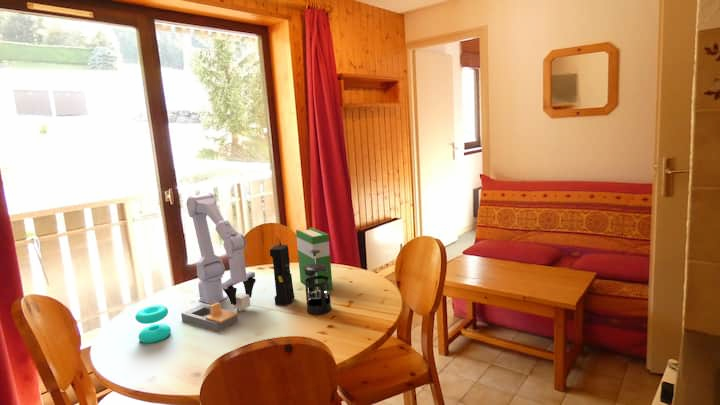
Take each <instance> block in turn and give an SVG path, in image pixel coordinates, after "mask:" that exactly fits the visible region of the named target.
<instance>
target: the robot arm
mask: <svg viewBox="0 0 720 405" xmlns="http://www.w3.org/2000/svg"><path fill="white" fill-rule="evenodd" d="M186 208H187V212H188V215H189V217H190V218H192V221H193V225H194V230H195V234H196V235H195V236H196V240H197V244H198V246H199V248H198V249H199V251H200V255H201V256H200V258H199V259H198V261H197V262H196V263H195V264H196V275H197V278H198V280H199V282H198V293H199V298H198V301H199V302H202V303H206V304H210V305H212V304H215V303H217V302H219V303H220V302H221V301H223V300H225V299H228V300H229V303H230V304H231V305H232V306H233V305H236V295H237V290H238V288H236V287H235V286H236V285H238V284H239V283H242V284H243V288H244V292H245V293H244V294H247V295H249V297H250V298H252V295H253V289H254V288H253V287H254V286H255V284H256V278H255V277H256V273H255V271H250V272H247V271H246V268H247V267H246V261H245V252H244V249H245V248H246V246H247V242H246V241H247V240H246V238H245V236H244V235H243V234H242V233H240V232H239V231H237V230H235V228H234V226H233V225H232V224H231V222H230V221H229V220H225V219H224V217H223V215H222V214H221V212H220V211H219V209H218V207H217V199H216V196H215V195H214V194H213V193H212V192H210V193H209V192H208V193H204V194H198V195H194V196H193V195H191V196H188V197H187V200H186ZM207 216H208V218H209V219H210V220H211V221H212V222H213V223H214V224H215V231H216V232H217V234H218V236H219V237H220V238H221V240H222V241H223V248H224V250H225V254H226V256H227V257H228V267H229V274H230V278H229V279H227V280H226V281H225V282H222V278H223V275H224V274H225V271H226V267H225V265H224V263H223V260H222V258H221V257H220V256H218V255H216V254H215V252H214V251H215V250H214V246H213V243H212V237H211V233H210V230H209V225H208V221H207V220H208V219H207ZM234 285H235V286H234ZM224 293H225V294H226V295H224Z"/></svg>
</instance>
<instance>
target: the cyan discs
mask: <svg viewBox="0 0 720 405" xmlns="http://www.w3.org/2000/svg"><path fill="white" fill-rule="evenodd" d="M168 314H169V310H168V308H167V307H166V306H164V305H161V304H160V305H159V304H157V305H150V306H146V307H144V308H142V309H140V310H138V311H137V313H136V314H135V320H136V321H137V322H138V323H139V324H144V325H145V324H148V326H146V327H145V328H143V329H141V331H140V332H139V333H138V340H139V341H140V342H141V343H144V344H153V343H157V342H160V341H162V340H165V339H166V338H168V336H170V334H171V332H172V329H171V327H170V325H167V324H166V323H157V322H160V321H162V320H163V319H165V317H166V316H168ZM150 324H151V325H150Z"/></svg>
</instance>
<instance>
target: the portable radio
mask: <svg viewBox="0 0 720 405" xmlns="http://www.w3.org/2000/svg"><path fill="white" fill-rule="evenodd" d="M278 240H279V243H278V244H277V245H274V246H273V247H272V248H270V249H269V255H270V257H271V258H272V265H273V275H274V286H275V287H274V288H275V294H276V295H275V296H274V305H276V306H278V305H279V306H289V305H290V304H291V303H292V302H293V300H294V299H295V298H296V296H295V292H294V285H293V277H292V273H291V269H290V265H291V264H290V253H289V252H290V251H289V246H288V244H282V242H281V239H280V238H279V239H278Z"/></svg>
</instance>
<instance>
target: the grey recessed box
mask: <svg viewBox="0 0 720 405" xmlns="http://www.w3.org/2000/svg"><path fill="white" fill-rule="evenodd" d="M222 309H223V308H221V310H222ZM180 315H181V322H185V323H187V324H191V325H194V326H197V325H198V326H197V327H202V328H203V329H204V328H205V329H208V330H211V331H215V332H220V331H222V330H224V329H226V328H228V327H229V326H232V325H234V324H235V323H238V321H239V318H238V315H236V316H234V317H232V318H230V319H228V320H226V321H224V322H222V323H219V322H216V321H212V320H209V319H206V317H207V316H209V315H211V314H210V305H206V304H205V305H204V304H202V303H201V304H199V305H197V306H195V307H192V308H190V309H189V310H188V309H187V310H186V311H183V312H181V313H180Z"/></svg>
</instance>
